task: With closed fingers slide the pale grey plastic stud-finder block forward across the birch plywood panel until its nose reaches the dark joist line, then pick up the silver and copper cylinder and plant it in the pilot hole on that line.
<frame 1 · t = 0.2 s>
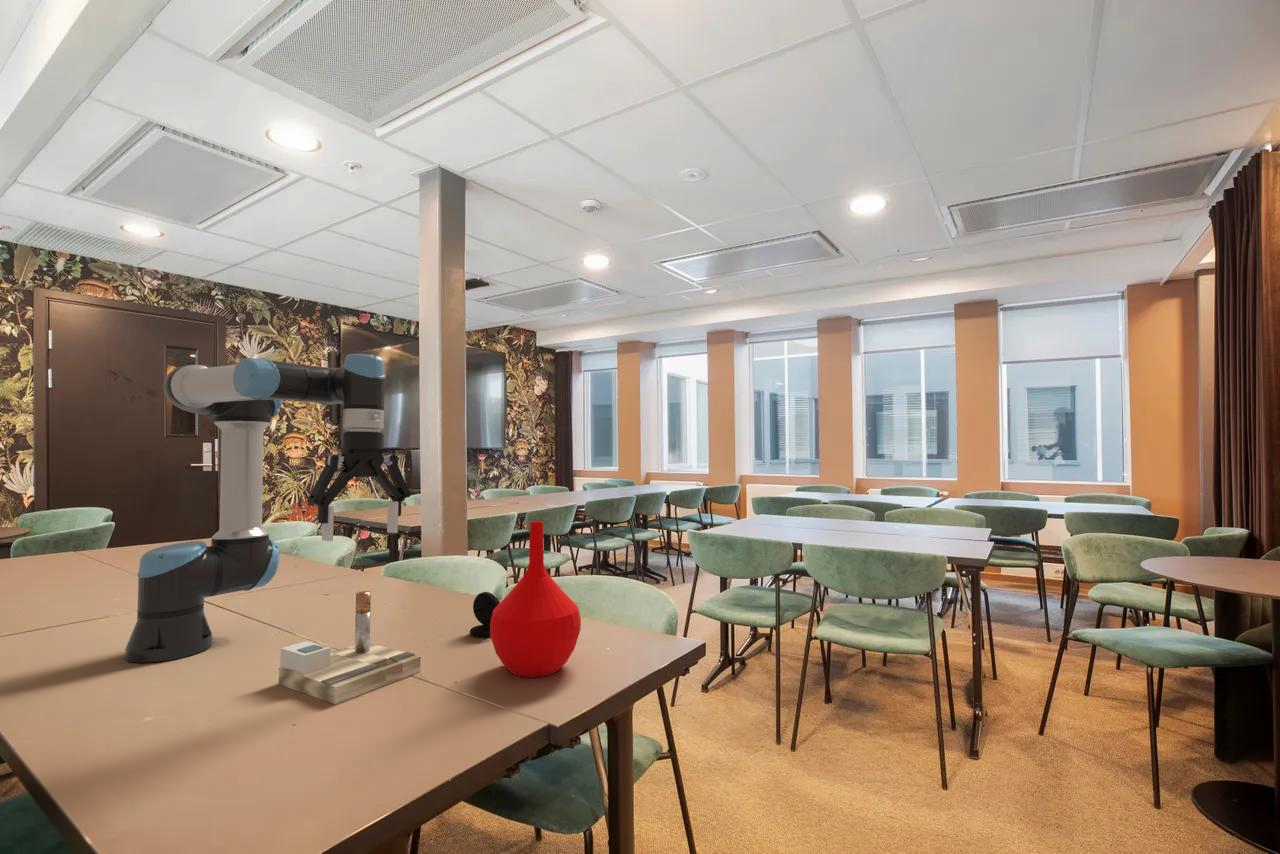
hand: (361, 536, 118), 27 cm above the table, fingers open, 13 cm apart
silver and copper cylinder: (362, 651, 122), point 3 cm above the table, touching panel
webcam: (485, 634, 144), on the table
panel: (351, 677, 115), on the table
vase: (535, 669, 120), on the table
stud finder: (305, 666, 113), point 3 cm above the table, touching panel
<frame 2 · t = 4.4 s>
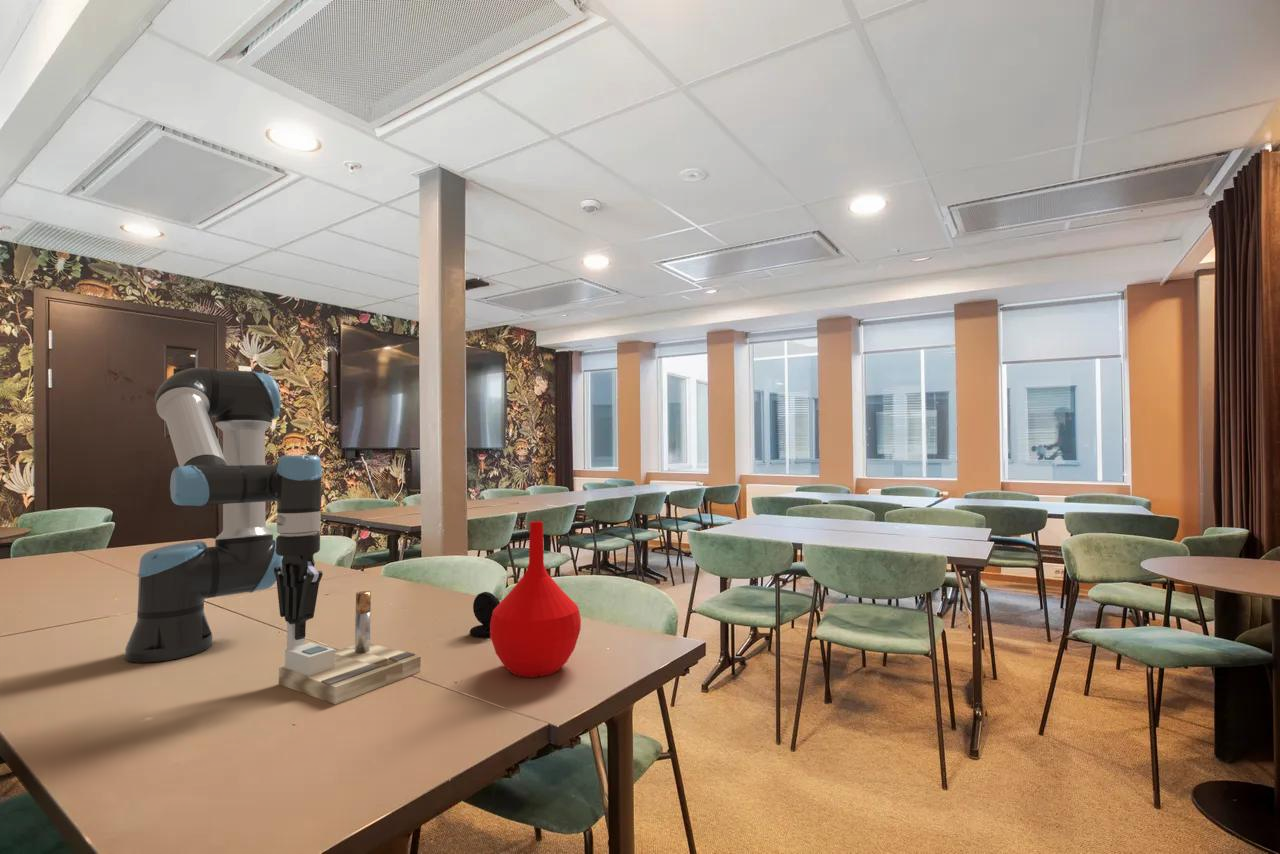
hand: (295, 655, 115), 5 cm above the table, fingers closed
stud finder: (309, 668, 112), point 3 cm above the table, touching gripper, panel
everything else where it was.
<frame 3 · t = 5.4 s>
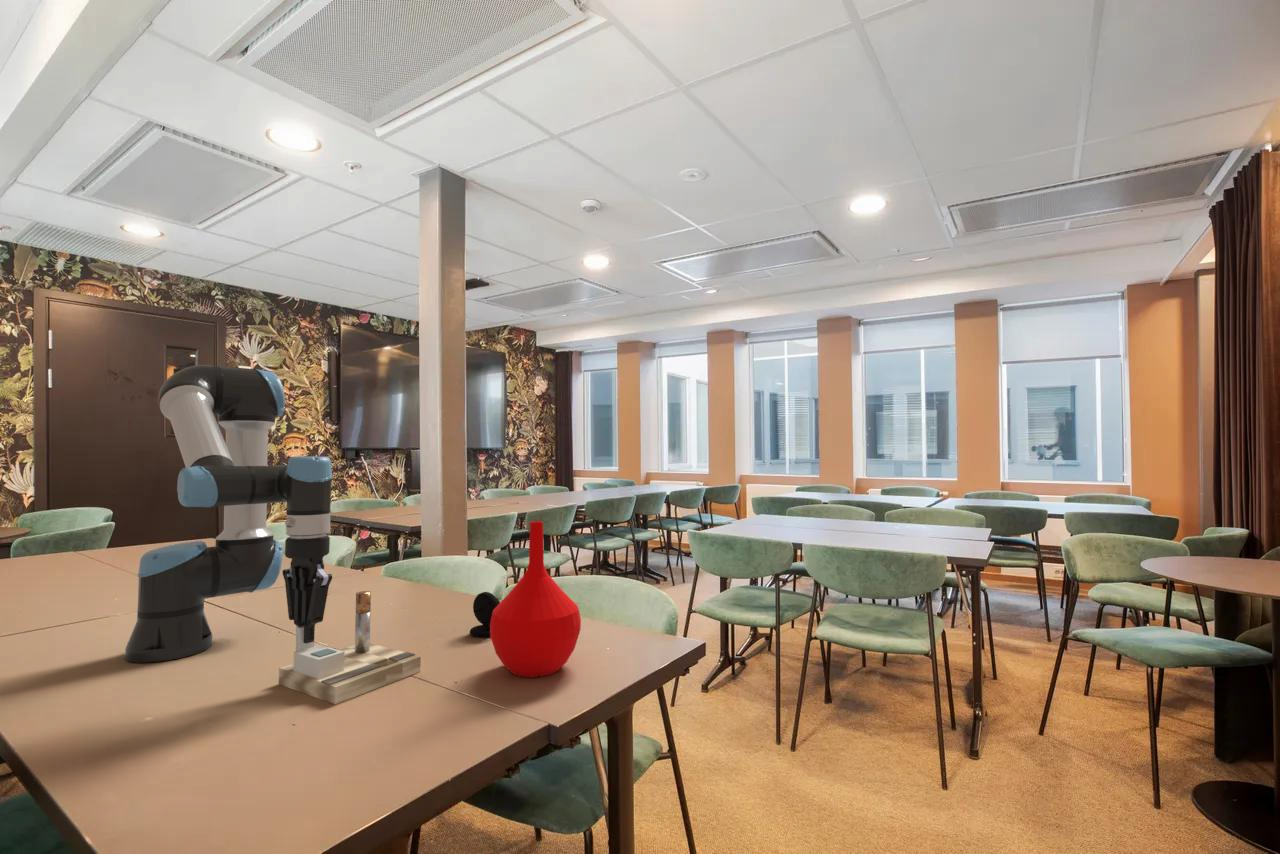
hand: (304, 658, 113), 4 cm above the table, fingers closed
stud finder: (318, 670, 111), point 3 cm above the table, touching gripper, panel
everything else where it was.
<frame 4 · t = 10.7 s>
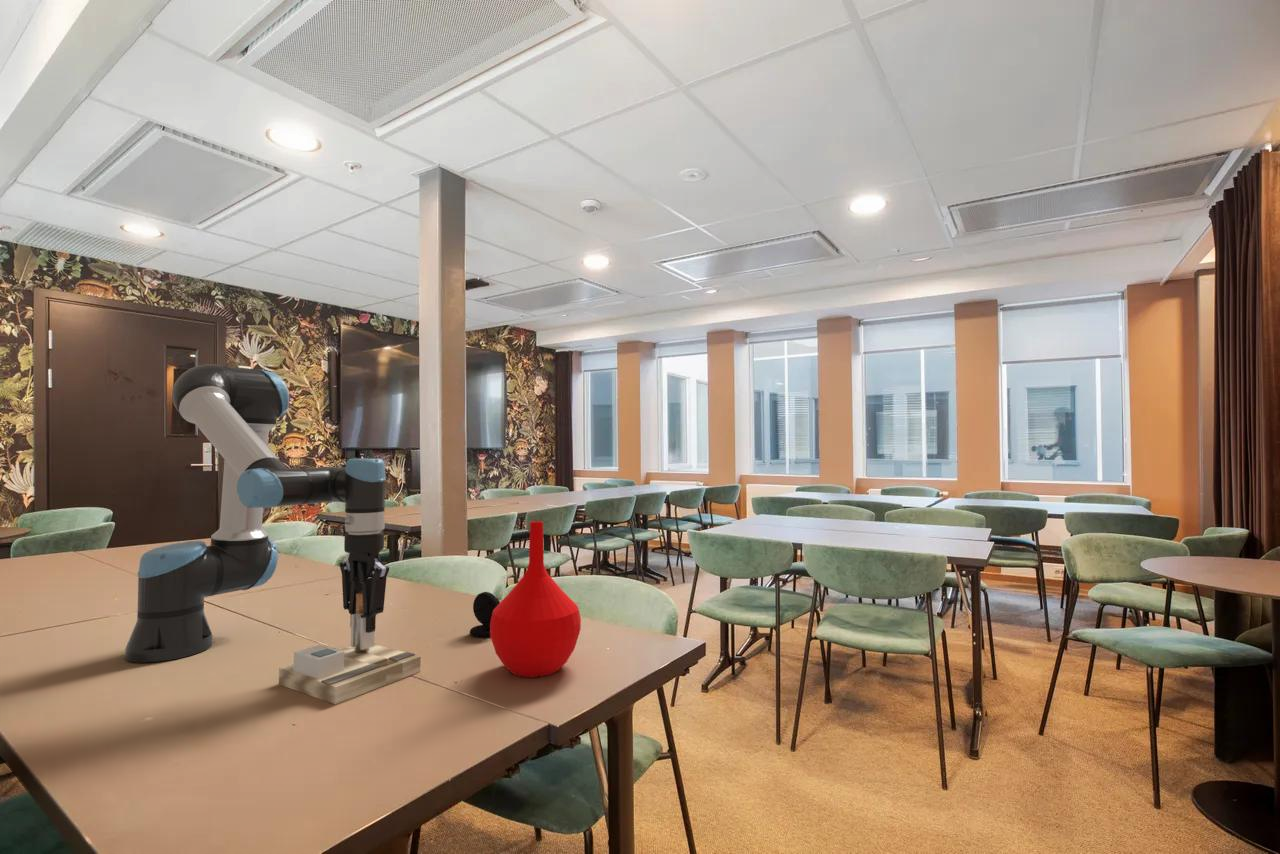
hand: (362, 646, 122), 4 cm above the table, fingers closed on silver and copper cylinder, 2 cm apart
silver and copper cylinder: (362, 651, 122), point 3 cm above the table, touching gripper
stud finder: (318, 670, 111), point 3 cm above the table, touching panel
everything else where it was.
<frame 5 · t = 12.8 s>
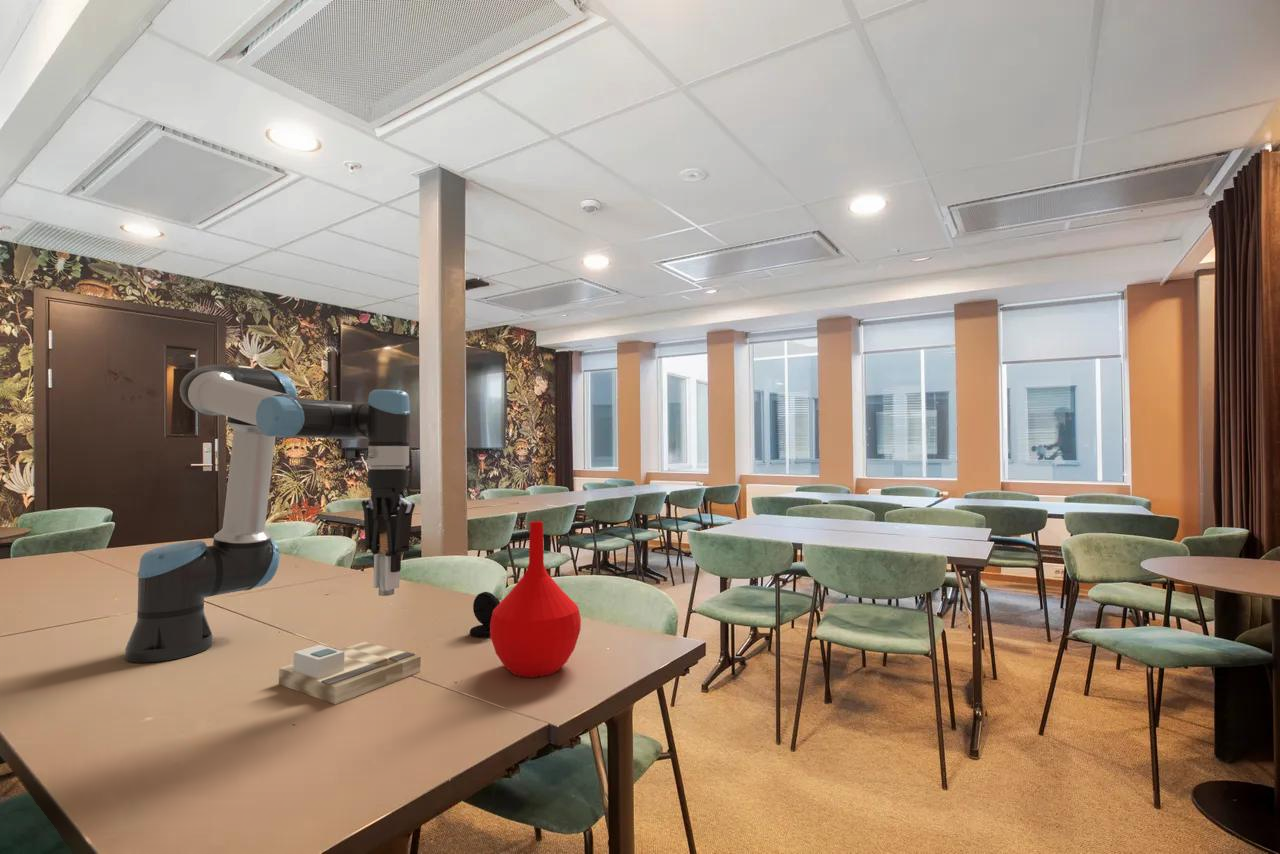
hand: (386, 587, 116), 18 cm above the table, fingers closed on silver and copper cylinder, 3 cm apart
silver and copper cylinder: (386, 594, 115), point 16 cm above the table, touching gripper
everything else where it was.
when the fingers open (5 cm above the table, at t = 15.1 s): silver and copper cylinder drops 4 cm, resting in panel.
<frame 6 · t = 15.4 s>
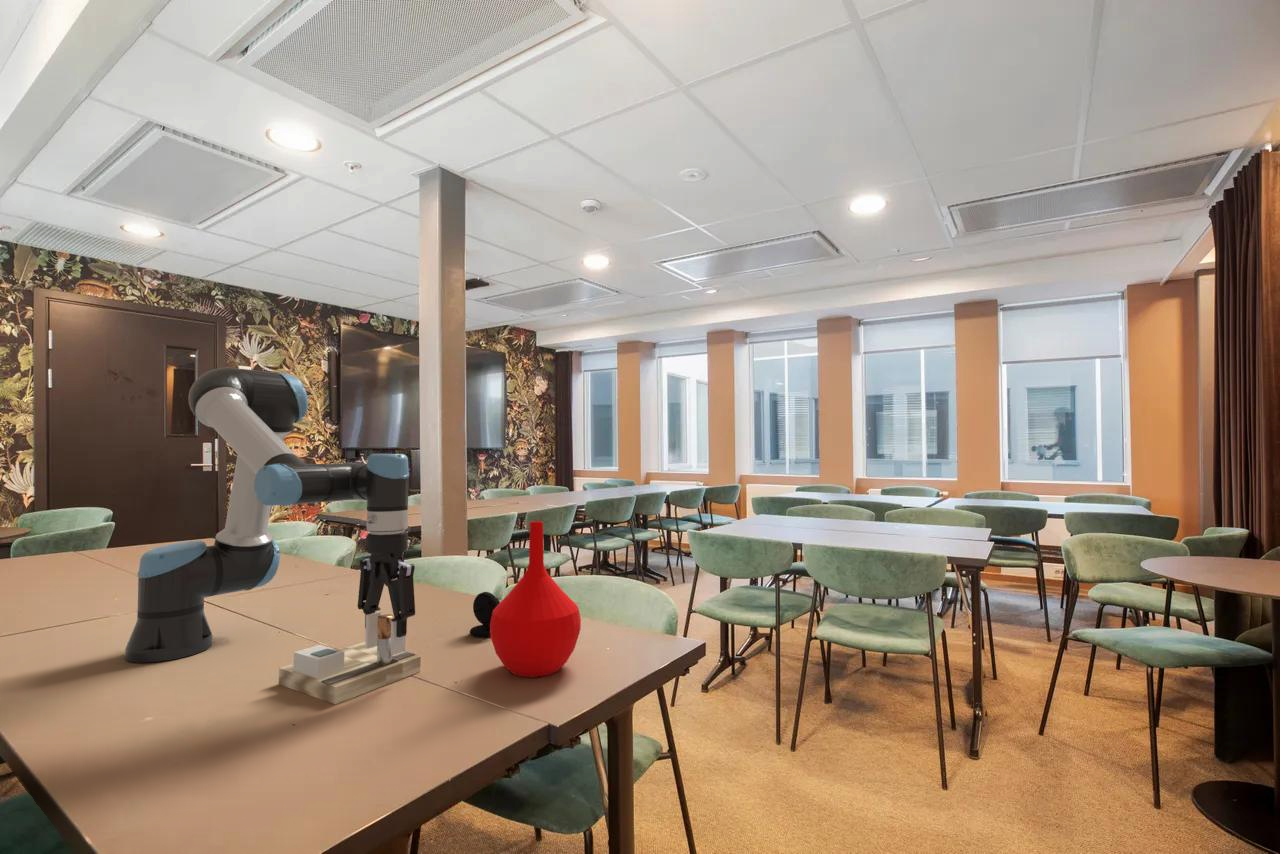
hand: (385, 649, 115), 6 cm above the table, fingers open, 7 cm apart
silver and copper cylinder: (384, 678, 115), resting in panel
everything else where it was.
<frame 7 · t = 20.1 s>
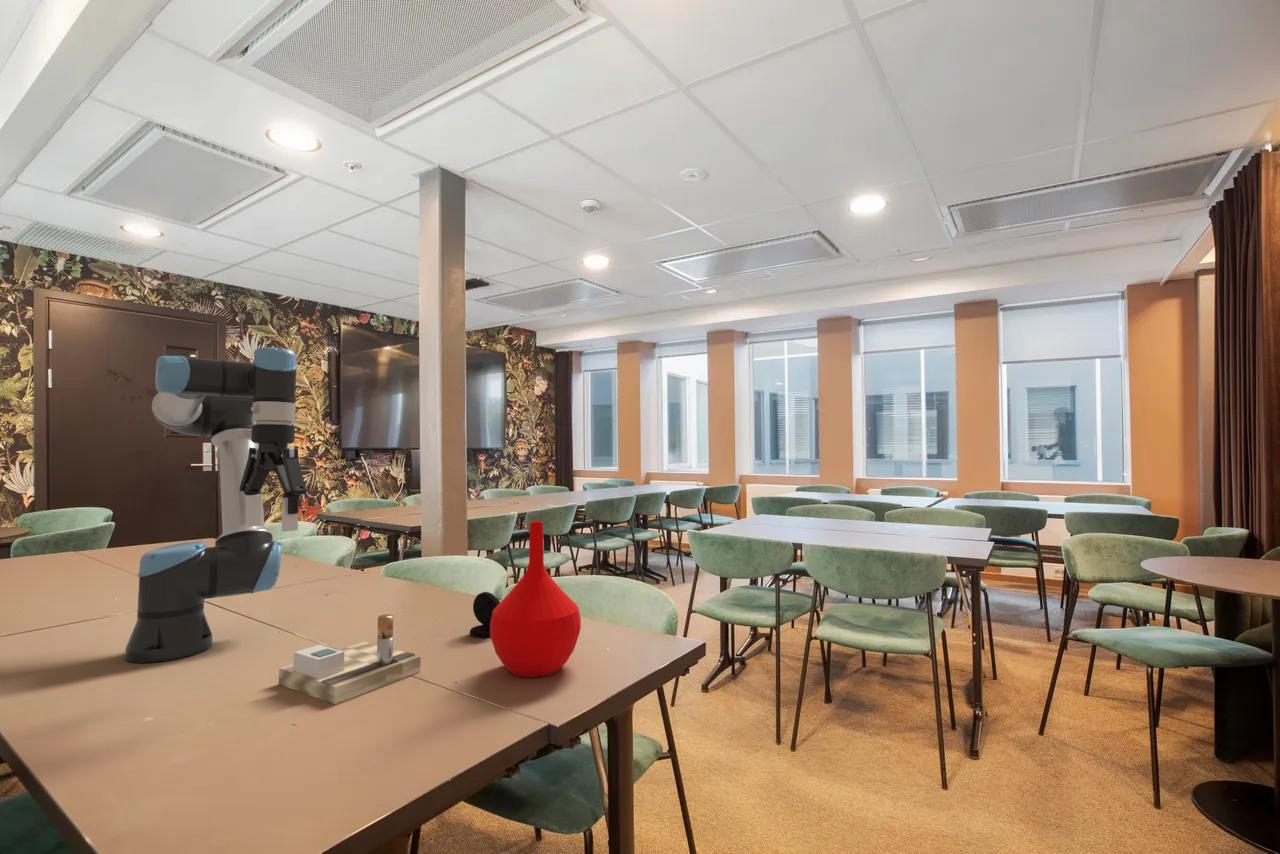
hand: (270, 528, 119), 29 cm above the table, fingers open, 13 cm apart
nothing on the table moved.
at the end: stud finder inside the target area on the panel (0.9 cm from its centre), point 3.0 cm above the panel's base; silver and copper cylinder 0.0 cm from the target spot on the panel, point 0.0 cm above the panel's base; silver and copper cylinder tilted 0° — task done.
